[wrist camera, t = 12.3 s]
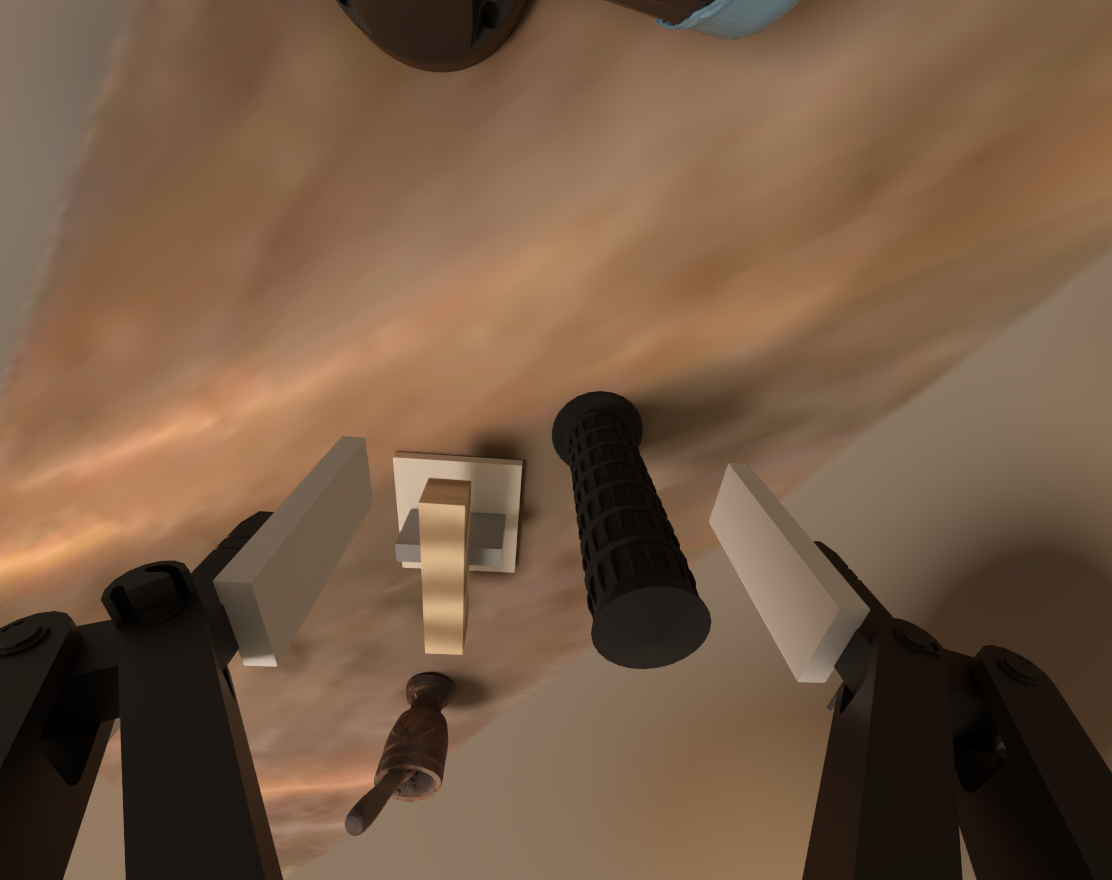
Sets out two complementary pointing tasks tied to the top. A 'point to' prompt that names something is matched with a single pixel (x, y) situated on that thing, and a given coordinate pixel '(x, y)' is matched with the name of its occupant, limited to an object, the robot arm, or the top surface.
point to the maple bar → (445, 563)
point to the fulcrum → (489, 506)
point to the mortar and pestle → (409, 752)
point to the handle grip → (626, 539)
